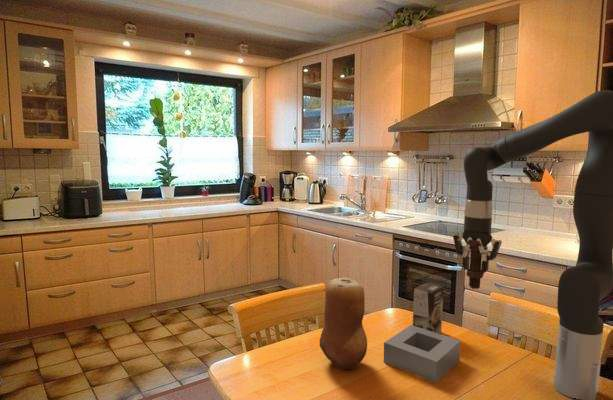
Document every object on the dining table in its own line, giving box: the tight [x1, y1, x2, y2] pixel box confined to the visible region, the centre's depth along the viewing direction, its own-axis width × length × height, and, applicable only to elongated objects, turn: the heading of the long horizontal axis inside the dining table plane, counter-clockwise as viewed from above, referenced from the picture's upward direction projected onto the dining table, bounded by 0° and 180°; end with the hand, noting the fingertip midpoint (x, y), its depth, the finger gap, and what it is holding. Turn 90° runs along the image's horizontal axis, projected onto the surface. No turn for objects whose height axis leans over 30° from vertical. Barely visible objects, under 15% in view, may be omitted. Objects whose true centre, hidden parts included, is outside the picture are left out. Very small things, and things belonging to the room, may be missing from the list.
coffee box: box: [412, 282, 444, 334], centre depth 138 cm, size 9×6×16 cm
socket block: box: [383, 324, 461, 384], centre depth 120 cm, size 16×16×6 cm
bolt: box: [466, 239, 485, 290], centre depth 124 cm, size 6×5×15 cm
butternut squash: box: [319, 277, 368, 370], centre depth 117 cm, size 14×13×25 cm
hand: (474, 270), depth 124 cm, fingers closed on bolt, 4 cm apart
